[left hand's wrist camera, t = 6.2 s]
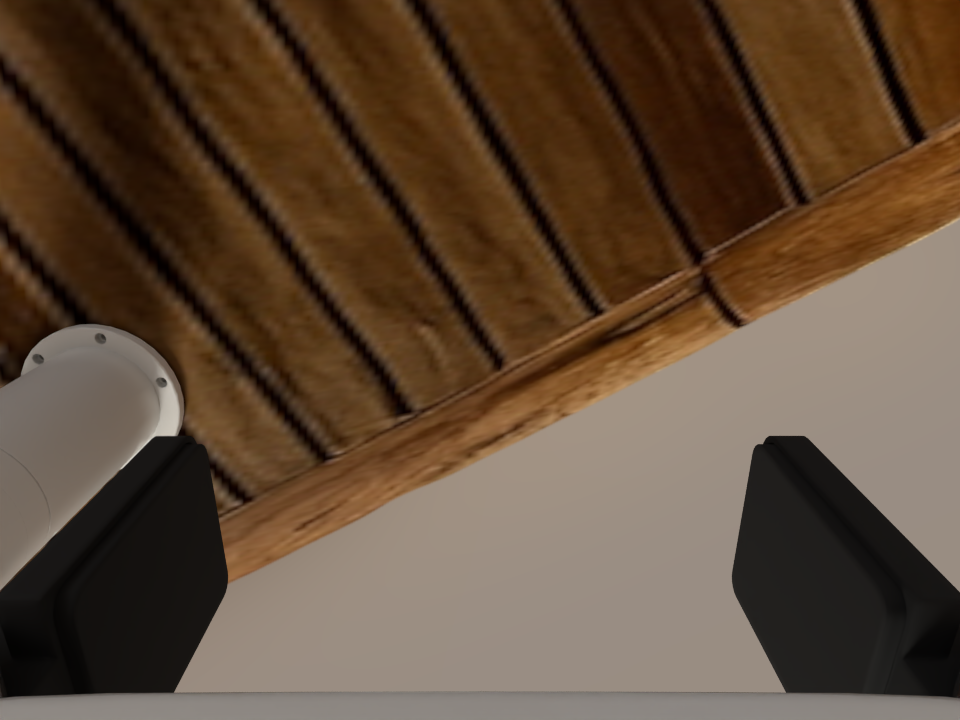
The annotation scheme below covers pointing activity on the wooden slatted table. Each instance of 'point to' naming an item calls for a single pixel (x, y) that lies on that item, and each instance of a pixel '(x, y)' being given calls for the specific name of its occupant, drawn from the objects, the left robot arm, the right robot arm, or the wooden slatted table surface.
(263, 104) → the wooden slatted table surface
